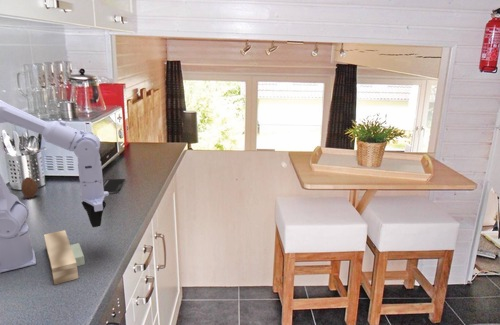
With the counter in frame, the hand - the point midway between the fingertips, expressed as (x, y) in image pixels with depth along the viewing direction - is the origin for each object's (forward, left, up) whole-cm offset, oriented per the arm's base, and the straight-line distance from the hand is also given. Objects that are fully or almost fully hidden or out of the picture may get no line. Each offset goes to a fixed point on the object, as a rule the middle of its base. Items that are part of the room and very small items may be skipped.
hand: (96, 225), depth 109 cm
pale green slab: (-8, 0, -8) cm, 12 cm away
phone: (+16, +51, -9) cm, 54 cm away
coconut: (-13, +54, -9) cm, 56 cm away
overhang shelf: (-10, 0, -8) cm, 13 cm away
